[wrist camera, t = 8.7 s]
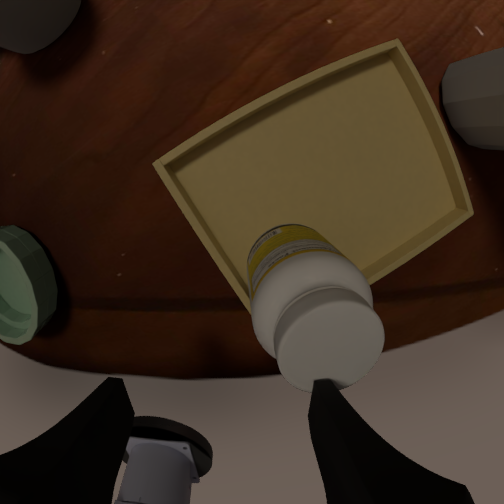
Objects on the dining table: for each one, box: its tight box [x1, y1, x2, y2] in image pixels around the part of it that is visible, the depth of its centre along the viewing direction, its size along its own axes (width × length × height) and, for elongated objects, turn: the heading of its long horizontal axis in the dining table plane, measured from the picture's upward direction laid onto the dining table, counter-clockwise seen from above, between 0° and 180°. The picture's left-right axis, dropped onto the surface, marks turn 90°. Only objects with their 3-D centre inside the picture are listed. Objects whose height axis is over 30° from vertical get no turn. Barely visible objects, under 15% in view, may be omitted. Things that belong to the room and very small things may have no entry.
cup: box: [0, 0, 81, 54], centre depth 9 cm, size 7×10×9 cm
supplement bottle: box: [247, 223, 384, 393], centre depth 15 cm, size 5×5×10 cm
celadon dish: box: [0, 225, 58, 345], centre depth 18 cm, size 9×9×4 cm
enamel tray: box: [152, 39, 474, 316], centre depth 17 cm, size 17×13×2 cm
